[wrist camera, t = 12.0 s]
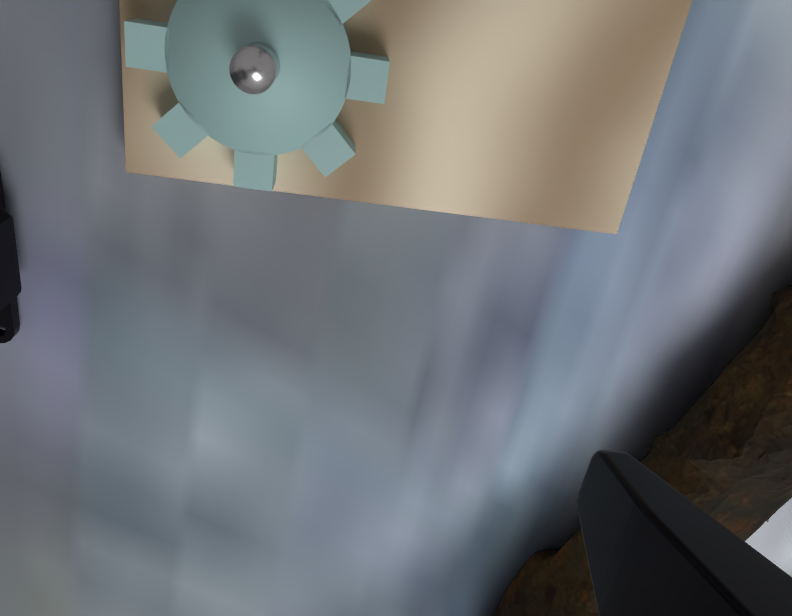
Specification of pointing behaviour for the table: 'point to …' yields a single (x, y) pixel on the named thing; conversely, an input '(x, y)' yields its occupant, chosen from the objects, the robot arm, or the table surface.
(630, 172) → the gear board
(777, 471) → the hand tool
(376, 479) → the table surface
